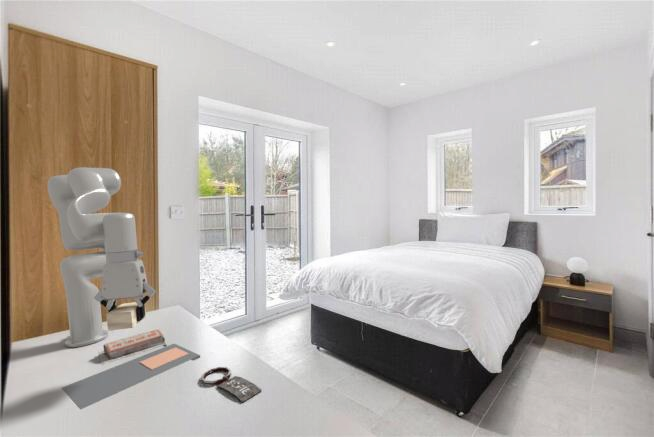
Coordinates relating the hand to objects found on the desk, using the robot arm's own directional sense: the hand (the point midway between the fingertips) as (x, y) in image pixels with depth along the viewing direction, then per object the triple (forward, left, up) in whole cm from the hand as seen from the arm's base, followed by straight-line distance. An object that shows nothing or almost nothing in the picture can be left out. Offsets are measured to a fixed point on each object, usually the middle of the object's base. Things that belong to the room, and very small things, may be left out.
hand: (127, 320), depth 88 cm
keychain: (+29, +12, -16) cm, 35 cm away
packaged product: (-16, +6, -16) cm, 24 cm away
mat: (0, +1, -15) cm, 15 cm away
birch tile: (0, 0, -1) cm, 1 cm away
